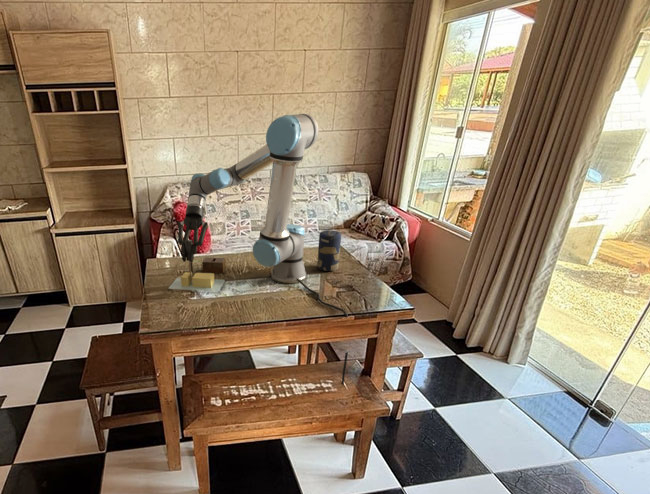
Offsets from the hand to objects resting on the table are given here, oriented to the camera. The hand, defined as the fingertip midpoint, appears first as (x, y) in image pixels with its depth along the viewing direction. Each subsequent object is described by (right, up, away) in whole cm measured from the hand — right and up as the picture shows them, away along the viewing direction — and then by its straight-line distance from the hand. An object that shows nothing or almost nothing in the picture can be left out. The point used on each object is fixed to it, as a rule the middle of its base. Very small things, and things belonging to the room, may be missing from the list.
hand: (187, 260), depth 166 cm
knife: (+1, -7, +8) cm, 11 cm away
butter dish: (+3, -10, +9) cm, 14 cm away
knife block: (+10, -2, +23) cm, 25 cm away
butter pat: (-1, -9, +10) cm, 13 cm away
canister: (+62, -1, +21) cm, 66 cm away
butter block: (+6, -9, +8) cm, 14 cm away
